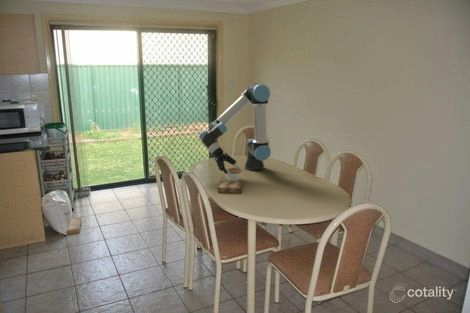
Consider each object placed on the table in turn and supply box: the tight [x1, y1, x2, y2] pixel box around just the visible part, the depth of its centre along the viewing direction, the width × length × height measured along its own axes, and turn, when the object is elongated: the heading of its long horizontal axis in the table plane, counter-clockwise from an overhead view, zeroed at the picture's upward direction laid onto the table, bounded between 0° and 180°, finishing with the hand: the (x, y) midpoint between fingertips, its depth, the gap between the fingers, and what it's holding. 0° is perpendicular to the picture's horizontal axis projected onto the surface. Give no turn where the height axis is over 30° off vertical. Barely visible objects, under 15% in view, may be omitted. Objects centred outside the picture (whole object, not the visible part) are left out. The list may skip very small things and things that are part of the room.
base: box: [217, 180, 242, 194], centre depth 226 cm, size 14×14×3 cm
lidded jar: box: [225, 167, 242, 181], centre depth 242 cm, size 11×11×9 cm
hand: (235, 174), depth 241 cm, fingers open, 13 cm apart
